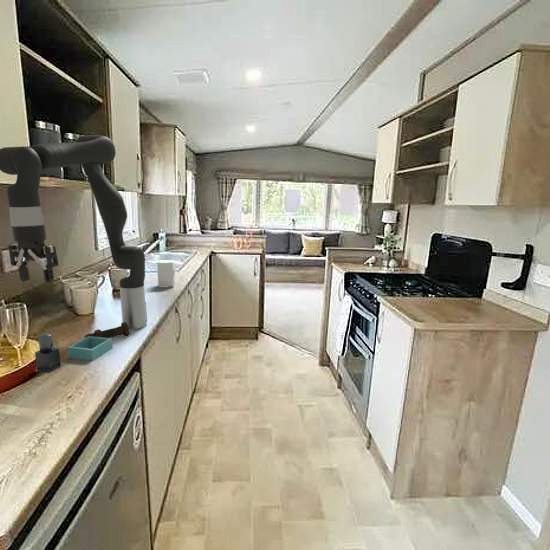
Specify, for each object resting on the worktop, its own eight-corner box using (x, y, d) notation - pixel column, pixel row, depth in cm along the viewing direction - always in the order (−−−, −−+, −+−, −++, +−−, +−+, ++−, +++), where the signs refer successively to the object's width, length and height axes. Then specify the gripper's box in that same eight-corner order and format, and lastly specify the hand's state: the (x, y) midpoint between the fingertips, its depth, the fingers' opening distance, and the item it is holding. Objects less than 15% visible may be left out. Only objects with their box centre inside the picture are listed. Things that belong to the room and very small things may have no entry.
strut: (48, 362, 116) (44, 331, 114) (60, 364, 115) (57, 333, 113) (36, 368, 112) (32, 336, 110) (49, 370, 111) (45, 338, 109)
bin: (90, 349, 130) (89, 336, 129) (113, 352, 128) (111, 338, 127) (69, 361, 120) (67, 347, 119) (93, 364, 118) (92, 350, 117)
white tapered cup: (173, 287, 218) (172, 262, 215) (158, 287, 217) (156, 262, 213) (175, 283, 227) (174, 259, 224) (160, 284, 225) (159, 260, 222)
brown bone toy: (86, 348, 136) (127, 337, 145) (88, 345, 132) (130, 334, 141) (82, 333, 137) (123, 323, 146) (84, 330, 133) (127, 320, 142)
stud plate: (48, 364, 118) (46, 349, 117) (67, 367, 116) (66, 351, 115) (30, 375, 111) (28, 358, 110) (50, 377, 110) (48, 361, 109)
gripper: (60, 222, 102) (68, 279, 106) (20, 222, 106) (29, 277, 110) (36, 225, 95) (46, 286, 99) (-6, 224, 99) (5, 283, 103)
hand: (37, 281), depth 104 cm, fingers open, 8 cm apart
